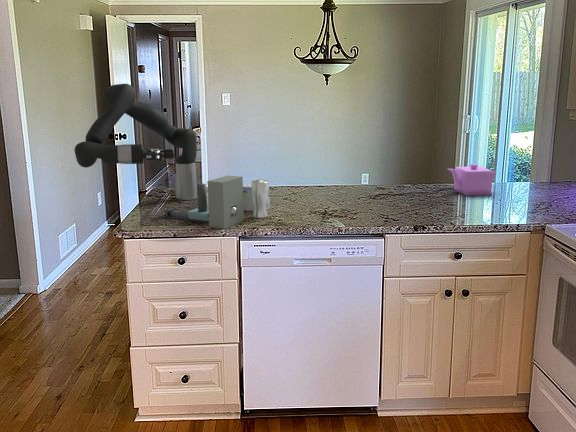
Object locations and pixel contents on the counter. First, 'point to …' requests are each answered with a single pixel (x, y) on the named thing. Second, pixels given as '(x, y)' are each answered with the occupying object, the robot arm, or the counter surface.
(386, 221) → the counter surface
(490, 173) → the teapot
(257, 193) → the beer glass
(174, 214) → the rail
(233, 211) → the gauge plunger
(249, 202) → the light bulb box
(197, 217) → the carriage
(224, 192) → the end cabinet
